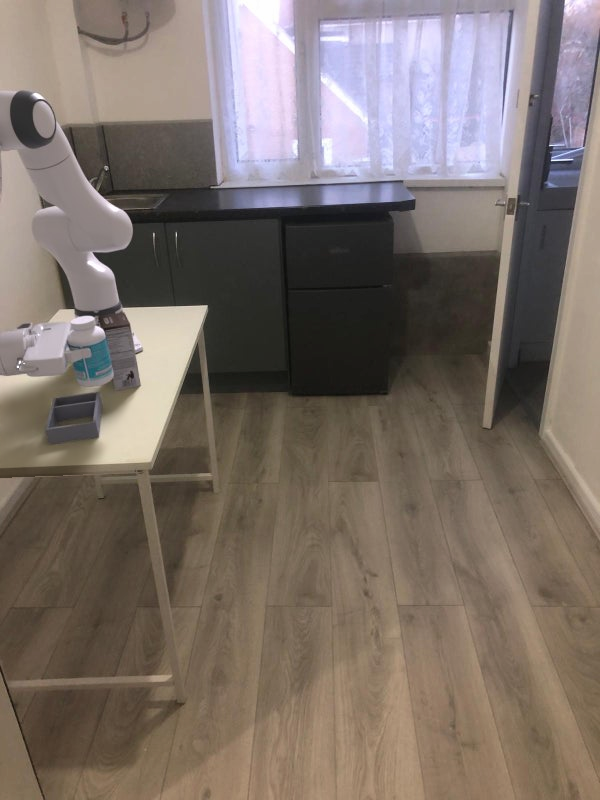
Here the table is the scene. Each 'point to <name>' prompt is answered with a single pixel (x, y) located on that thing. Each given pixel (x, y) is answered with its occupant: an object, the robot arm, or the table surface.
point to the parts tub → (74, 417)
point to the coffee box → (120, 350)
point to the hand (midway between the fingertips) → (92, 343)
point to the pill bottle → (99, 364)
